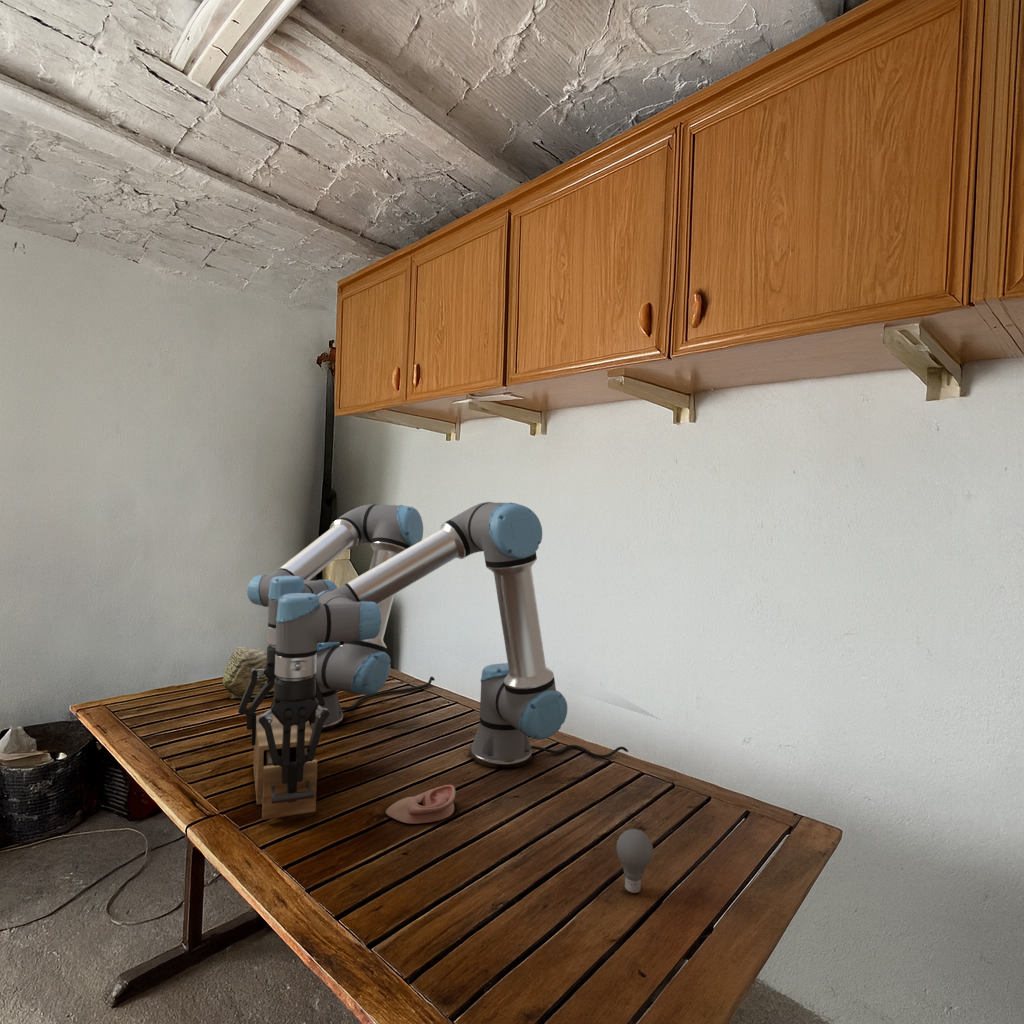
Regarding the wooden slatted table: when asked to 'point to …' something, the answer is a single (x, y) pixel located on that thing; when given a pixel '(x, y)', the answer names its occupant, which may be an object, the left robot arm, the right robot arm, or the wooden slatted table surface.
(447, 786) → the anatomical model
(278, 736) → the cabinet
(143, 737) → the wooden slatted table surface
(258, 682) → the fossil
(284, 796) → the drawer
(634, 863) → the light bulb
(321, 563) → the left robot arm
